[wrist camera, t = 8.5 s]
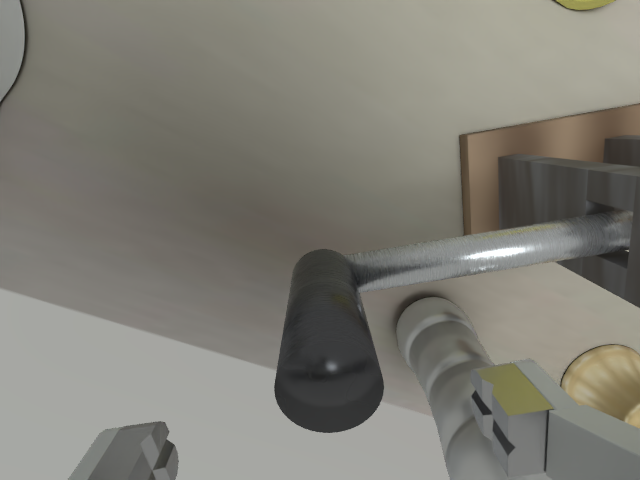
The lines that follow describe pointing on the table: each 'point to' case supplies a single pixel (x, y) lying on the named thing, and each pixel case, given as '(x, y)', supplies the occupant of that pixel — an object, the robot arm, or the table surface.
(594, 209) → the shaft frame
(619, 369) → the hand bell
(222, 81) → the table surface
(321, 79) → the table surface
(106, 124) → the table surface
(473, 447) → the plastic bottle
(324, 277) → the shaft
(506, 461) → the robot arm
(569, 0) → the plastic component
